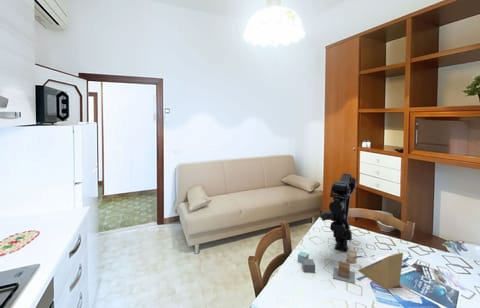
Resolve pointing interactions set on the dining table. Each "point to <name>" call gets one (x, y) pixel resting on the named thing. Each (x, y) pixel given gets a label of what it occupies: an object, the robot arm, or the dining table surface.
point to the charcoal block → (308, 265)
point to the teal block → (302, 256)
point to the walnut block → (344, 269)
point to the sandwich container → (385, 271)
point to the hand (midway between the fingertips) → (337, 237)
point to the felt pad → (350, 279)
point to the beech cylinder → (351, 256)
